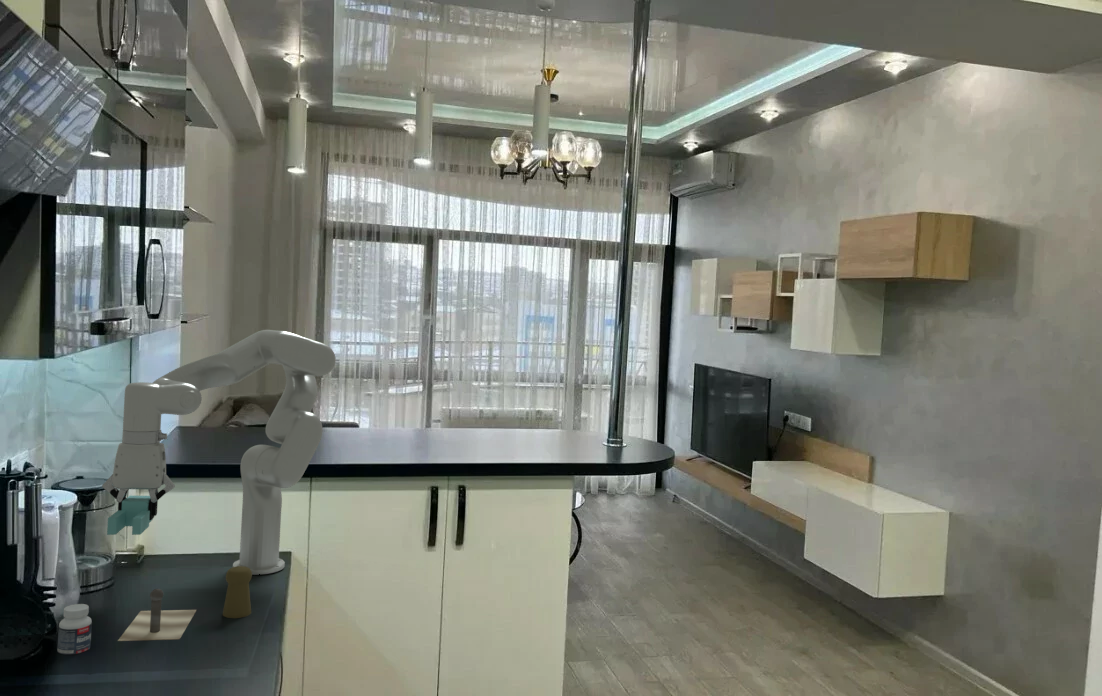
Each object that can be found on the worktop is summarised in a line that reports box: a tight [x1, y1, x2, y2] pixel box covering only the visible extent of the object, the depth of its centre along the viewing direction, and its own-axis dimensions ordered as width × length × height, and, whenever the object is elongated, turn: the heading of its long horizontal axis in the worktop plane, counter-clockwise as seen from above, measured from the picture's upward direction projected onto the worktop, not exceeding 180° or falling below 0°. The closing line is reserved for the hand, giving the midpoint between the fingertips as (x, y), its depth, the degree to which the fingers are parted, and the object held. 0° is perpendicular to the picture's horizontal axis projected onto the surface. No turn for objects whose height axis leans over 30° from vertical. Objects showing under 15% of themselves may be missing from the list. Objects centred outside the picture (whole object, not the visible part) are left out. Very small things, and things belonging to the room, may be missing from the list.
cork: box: [222, 566, 253, 619], centre depth 169 cm, size 6×6×11 cm
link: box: [106, 495, 154, 536], centre depth 174 cm, size 13×6×6 cm, turn 13°
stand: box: [117, 588, 197, 642], centre depth 160 cm, size 16×11×10 cm
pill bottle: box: [56, 603, 93, 655], centre depth 147 cm, size 5×5×9 cm
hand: (137, 517), depth 177 cm, fingers closed on link, 5 cm apart
